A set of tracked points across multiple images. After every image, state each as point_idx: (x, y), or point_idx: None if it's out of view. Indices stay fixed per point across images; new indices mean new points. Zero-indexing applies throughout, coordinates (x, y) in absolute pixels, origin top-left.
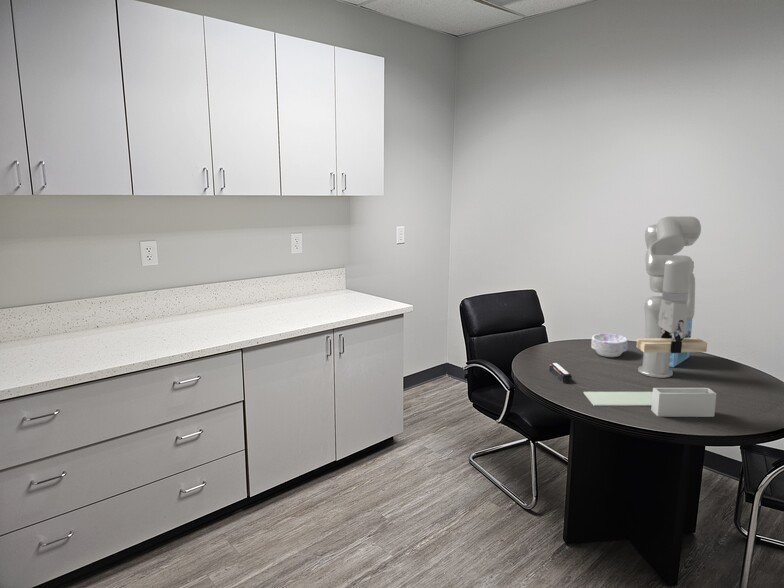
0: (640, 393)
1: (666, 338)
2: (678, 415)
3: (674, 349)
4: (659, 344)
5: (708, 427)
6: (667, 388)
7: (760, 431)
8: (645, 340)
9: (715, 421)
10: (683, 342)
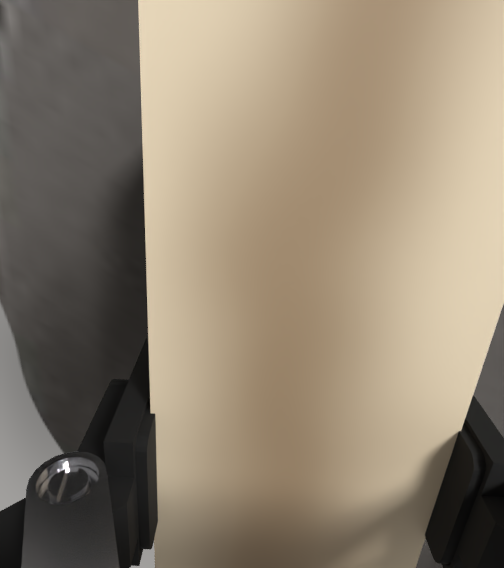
0: None
1: (433, 473)
2: None
3: (124, 383)
4: (146, 216)
5: (66, 271)
6: None
7: (48, 417)
8: (427, 31)
9: (128, 328)
10: (195, 565)
